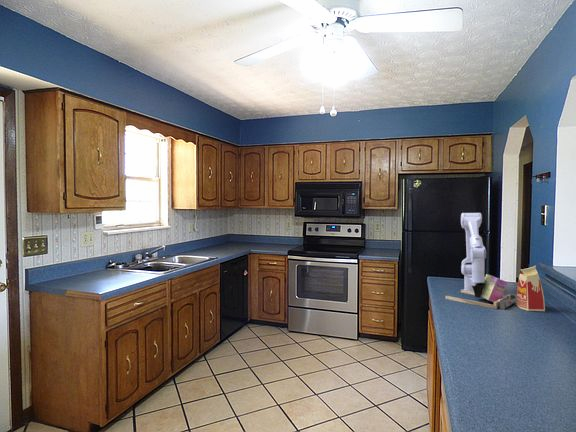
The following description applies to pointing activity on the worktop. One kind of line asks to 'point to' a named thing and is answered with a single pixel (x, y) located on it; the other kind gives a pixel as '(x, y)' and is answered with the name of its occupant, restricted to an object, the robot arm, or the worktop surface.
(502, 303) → the bay
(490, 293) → the box
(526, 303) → the milk carton
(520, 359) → the worktop surface
